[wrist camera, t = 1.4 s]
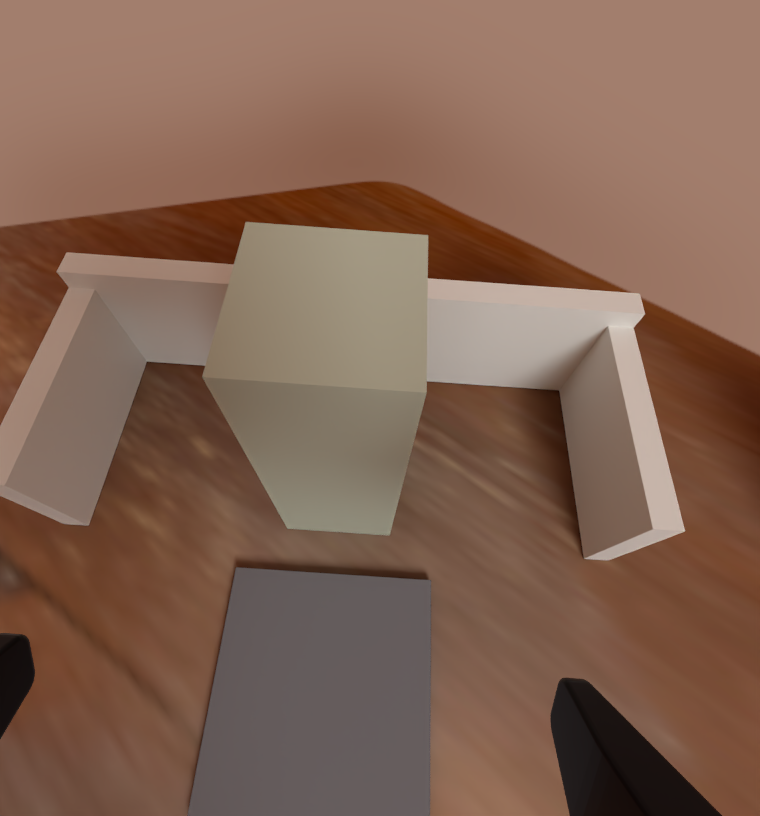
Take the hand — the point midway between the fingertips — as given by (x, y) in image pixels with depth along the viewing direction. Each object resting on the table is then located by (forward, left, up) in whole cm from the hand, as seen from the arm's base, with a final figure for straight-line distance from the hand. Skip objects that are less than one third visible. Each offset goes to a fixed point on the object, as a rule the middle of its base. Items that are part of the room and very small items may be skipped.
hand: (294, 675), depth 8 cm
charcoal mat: (-1, 0, -14) cm, 14 cm away
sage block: (+5, +6, -14) cm, 16 cm away
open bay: (+6, +8, -14) cm, 17 cm away
